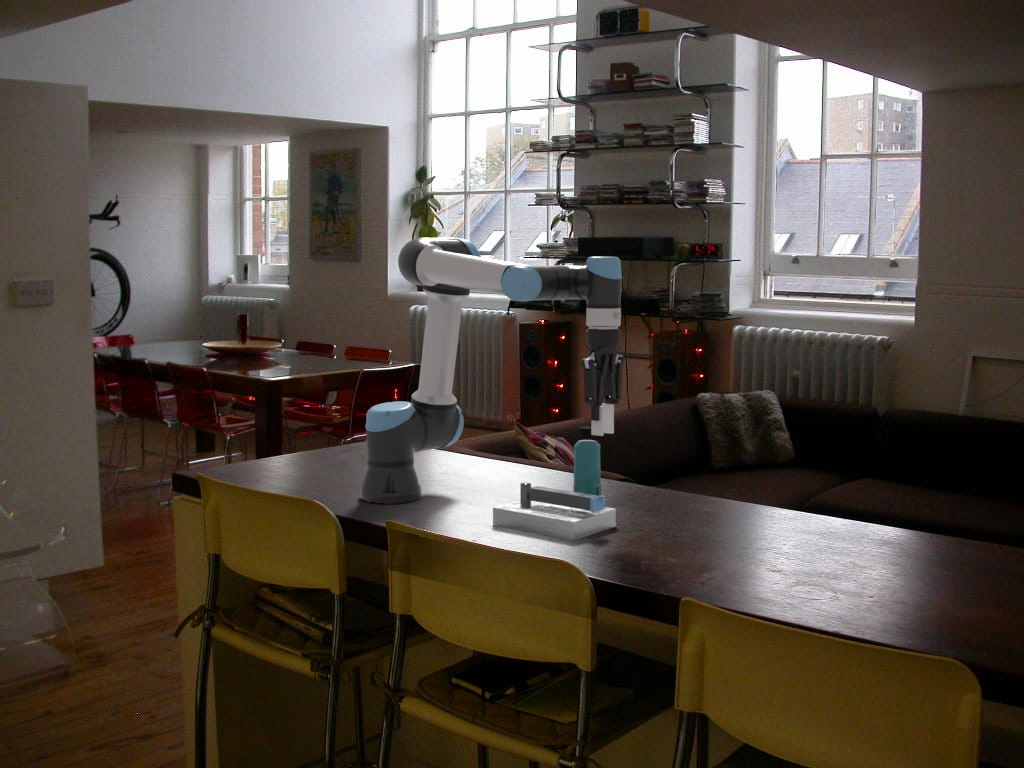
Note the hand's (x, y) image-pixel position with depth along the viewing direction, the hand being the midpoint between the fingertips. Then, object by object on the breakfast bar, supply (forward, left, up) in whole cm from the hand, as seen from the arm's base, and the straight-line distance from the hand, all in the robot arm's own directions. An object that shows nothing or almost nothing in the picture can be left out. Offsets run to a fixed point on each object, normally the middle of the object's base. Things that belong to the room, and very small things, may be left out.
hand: (602, 433), depth 242 cm
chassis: (-8, -7, -21) cm, 23 cm away
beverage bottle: (-11, +10, -21) cm, 26 cm away
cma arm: (-5, -7, -15) cm, 18 cm away
